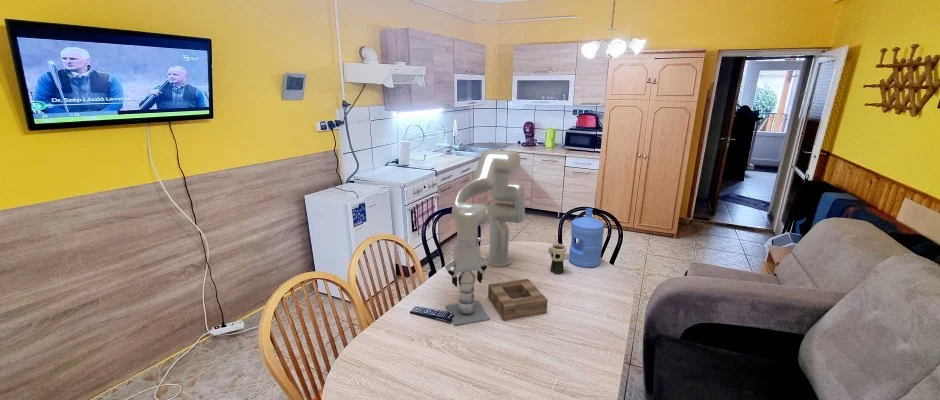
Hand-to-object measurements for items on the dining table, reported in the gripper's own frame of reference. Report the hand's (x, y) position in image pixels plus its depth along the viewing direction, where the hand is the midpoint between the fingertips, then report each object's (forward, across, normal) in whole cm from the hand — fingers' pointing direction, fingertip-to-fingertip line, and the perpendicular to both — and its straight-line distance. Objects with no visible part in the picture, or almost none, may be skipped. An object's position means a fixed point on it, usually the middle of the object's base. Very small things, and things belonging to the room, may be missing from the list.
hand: (467, 283), depth 153 cm
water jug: (+14, -71, -28) cm, 77 cm away
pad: (+13, 0, 0) cm, 13 cm away
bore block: (+13, -21, 0) cm, 25 cm away
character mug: (+14, -52, -22) cm, 58 cm away
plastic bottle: (+12, 0, 0) cm, 12 cm away
